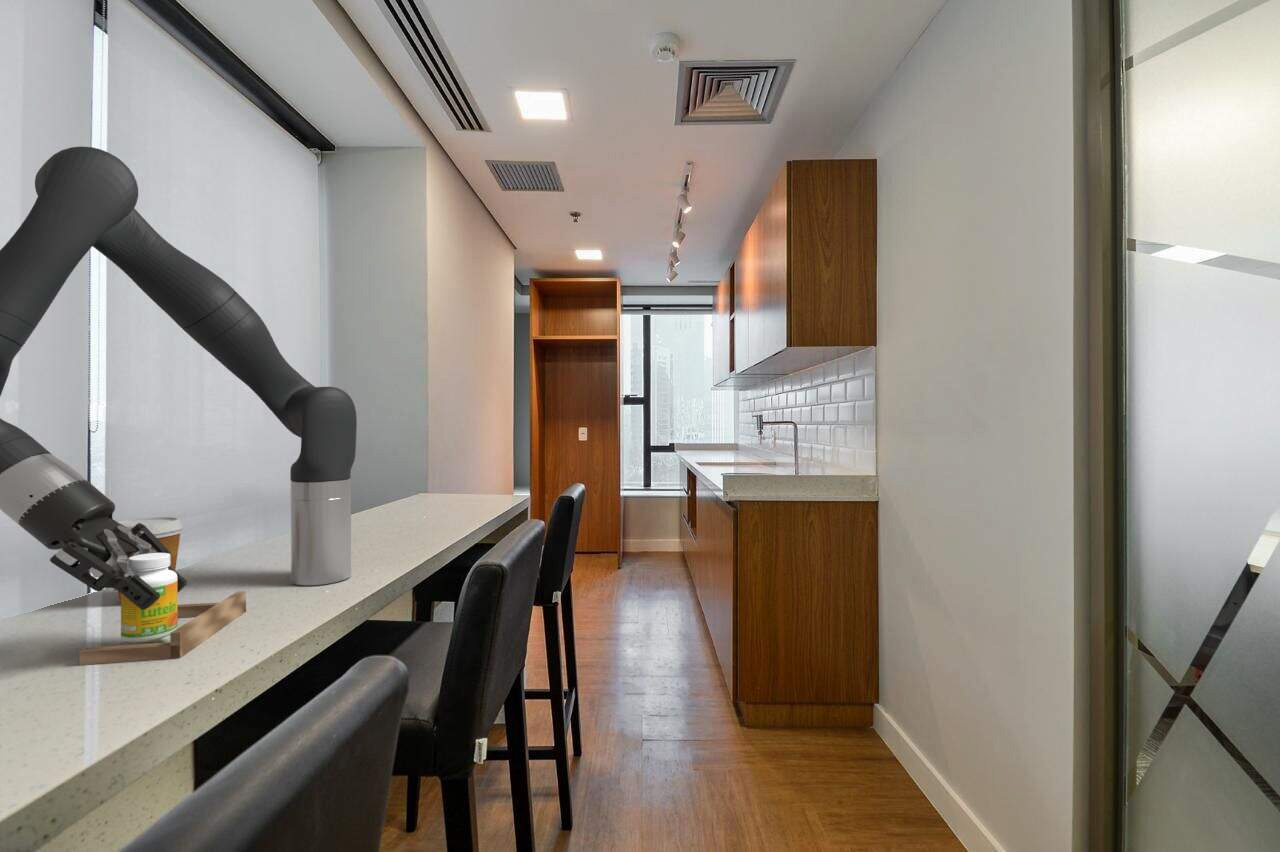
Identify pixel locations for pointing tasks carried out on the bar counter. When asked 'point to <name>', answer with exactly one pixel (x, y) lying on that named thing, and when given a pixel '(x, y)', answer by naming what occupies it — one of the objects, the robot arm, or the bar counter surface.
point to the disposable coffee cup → (160, 534)
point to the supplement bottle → (163, 611)
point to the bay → (174, 634)
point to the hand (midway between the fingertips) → (166, 595)
